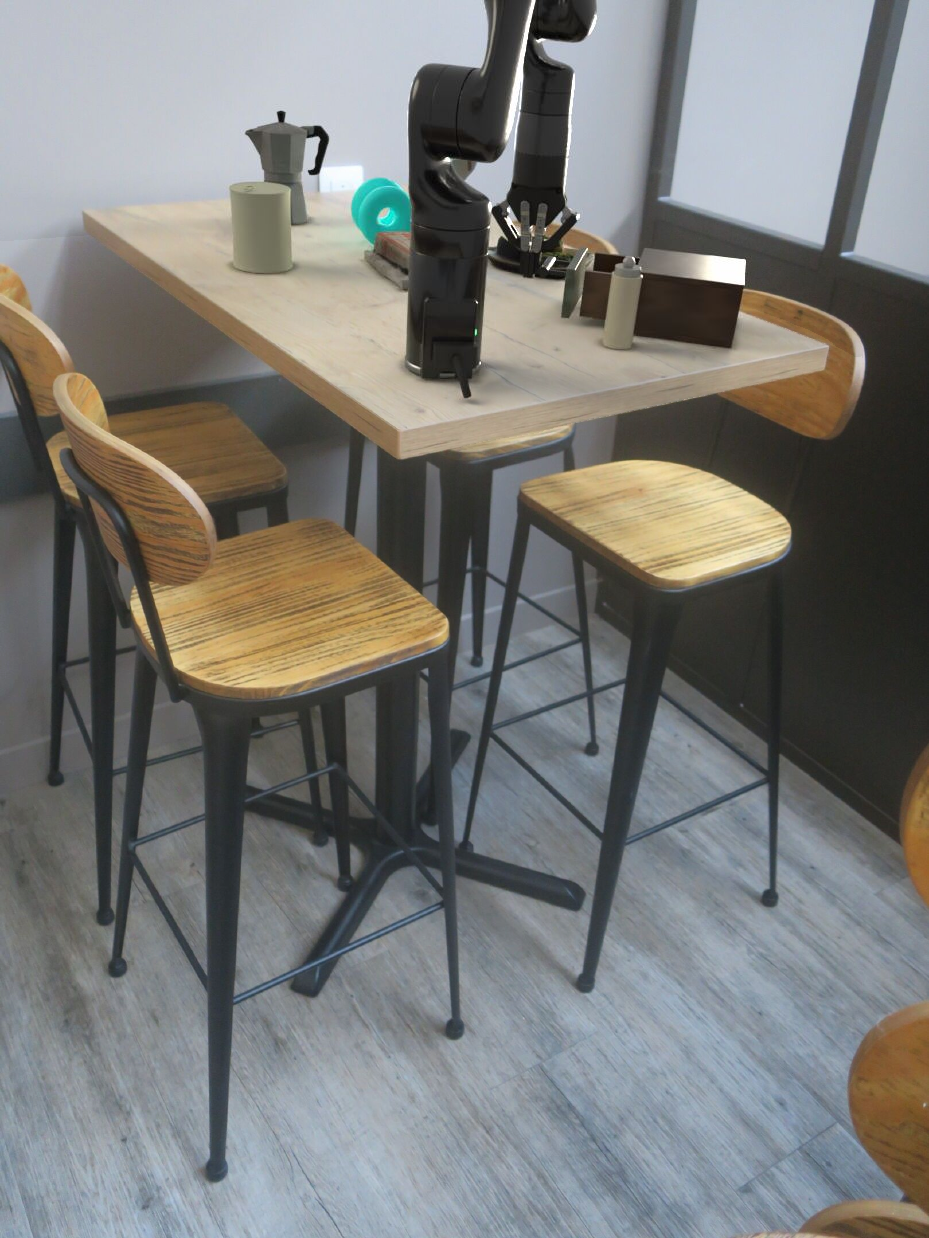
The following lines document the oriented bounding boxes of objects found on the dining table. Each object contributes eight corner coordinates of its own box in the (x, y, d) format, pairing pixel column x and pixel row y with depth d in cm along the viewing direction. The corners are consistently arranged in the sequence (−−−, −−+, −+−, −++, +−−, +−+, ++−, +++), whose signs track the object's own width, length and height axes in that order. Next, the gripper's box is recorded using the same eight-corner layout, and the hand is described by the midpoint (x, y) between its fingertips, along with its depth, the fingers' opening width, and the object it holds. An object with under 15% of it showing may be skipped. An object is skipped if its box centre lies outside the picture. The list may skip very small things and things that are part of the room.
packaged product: (362, 229, 168) (420, 227, 171) (362, 260, 170) (418, 258, 174) (402, 258, 154) (464, 255, 158) (401, 291, 157) (462, 288, 160)
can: (220, 266, 162) (215, 183, 155) (257, 255, 169) (254, 175, 162) (269, 277, 158) (266, 193, 152) (304, 265, 165) (303, 184, 159)
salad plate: (516, 243, 187) (519, 216, 185) (609, 260, 181) (613, 232, 178) (467, 264, 172) (469, 235, 170) (566, 283, 166) (570, 254, 164)
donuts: (360, 251, 175) (360, 187, 170) (349, 236, 183) (349, 175, 178) (417, 250, 178) (420, 188, 172) (405, 236, 186) (407, 176, 180)
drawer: (530, 313, 148) (535, 264, 144) (546, 289, 159) (551, 243, 156) (656, 330, 145) (664, 281, 142) (663, 304, 156) (671, 258, 153)
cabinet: (625, 334, 146) (635, 271, 141) (635, 306, 158) (644, 247, 153) (731, 348, 144) (744, 285, 139) (733, 319, 156) (745, 259, 151)
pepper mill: (635, 350, 140) (649, 260, 134) (606, 349, 140) (618, 259, 133) (627, 340, 144) (640, 253, 137) (598, 339, 143) (611, 252, 137)
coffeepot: (257, 227, 185) (253, 115, 175) (241, 215, 192) (235, 106, 182) (338, 223, 191) (338, 115, 182) (320, 211, 198) (319, 107, 188)
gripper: (488, 147, 141) (479, 277, 150) (585, 157, 139) (570, 289, 148) (499, 139, 147) (489, 265, 156) (592, 149, 145) (577, 276, 154)
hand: (529, 276), depth 152 cm, fingers closed
